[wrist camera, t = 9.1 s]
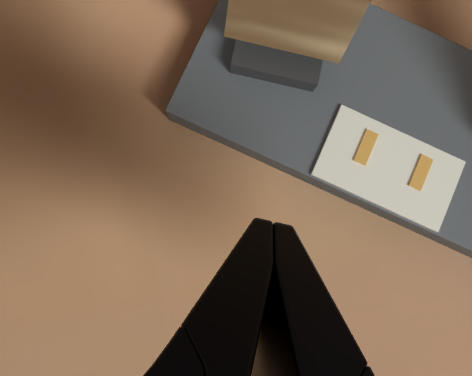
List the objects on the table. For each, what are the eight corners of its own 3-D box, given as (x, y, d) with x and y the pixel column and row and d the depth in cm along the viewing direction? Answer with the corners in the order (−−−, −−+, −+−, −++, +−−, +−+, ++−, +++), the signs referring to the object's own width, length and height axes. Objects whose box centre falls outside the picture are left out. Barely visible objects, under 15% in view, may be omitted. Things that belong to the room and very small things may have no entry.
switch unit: (551, 294, 21) (597, 303, 18) (168, 119, 21) (162, 104, 18) (607, 134, 22) (658, 121, 19) (243, -35, 22) (247, -70, 19)
